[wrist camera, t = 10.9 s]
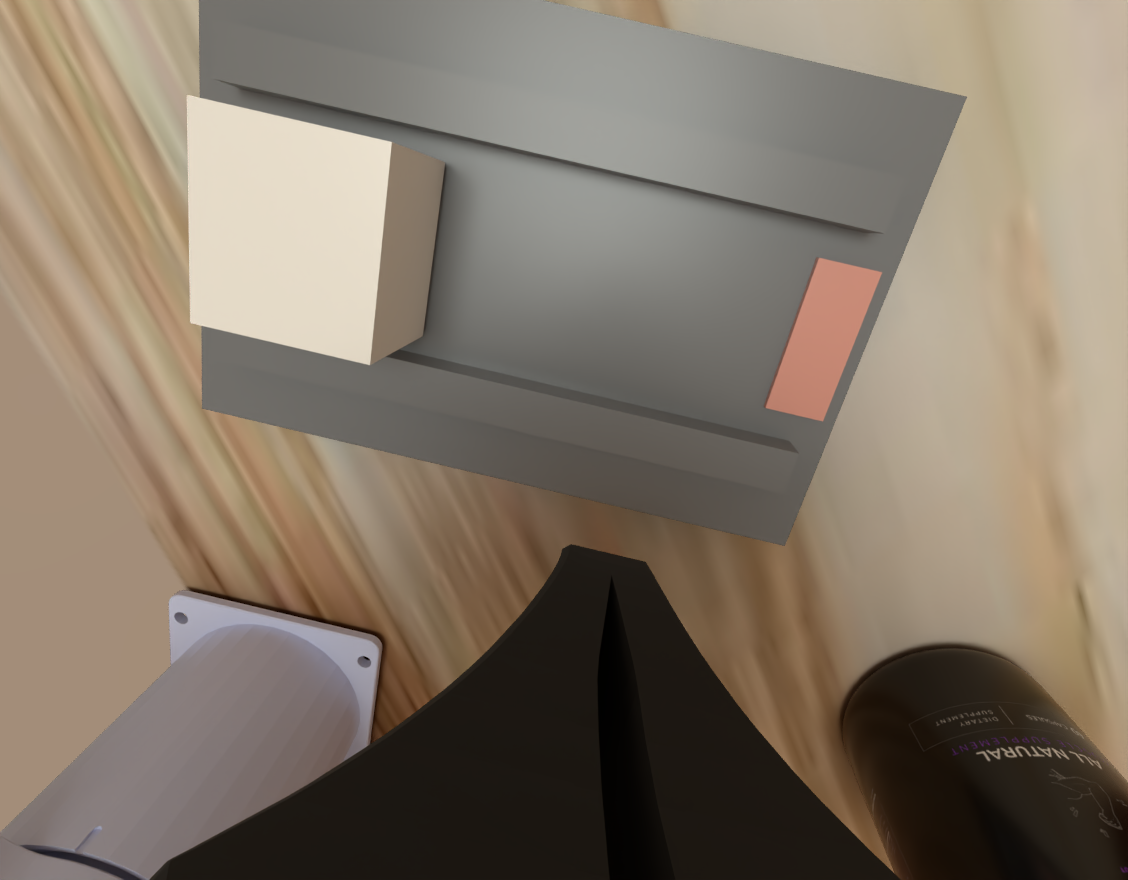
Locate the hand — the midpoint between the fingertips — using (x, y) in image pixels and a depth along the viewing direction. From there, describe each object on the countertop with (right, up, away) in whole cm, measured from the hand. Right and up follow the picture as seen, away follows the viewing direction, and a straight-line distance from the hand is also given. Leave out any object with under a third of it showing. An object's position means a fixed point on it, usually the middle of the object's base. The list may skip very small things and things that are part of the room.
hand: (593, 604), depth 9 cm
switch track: (-1, +8, +7) cm, 11 cm away
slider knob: (-6, +8, +6) cm, 11 cm away
